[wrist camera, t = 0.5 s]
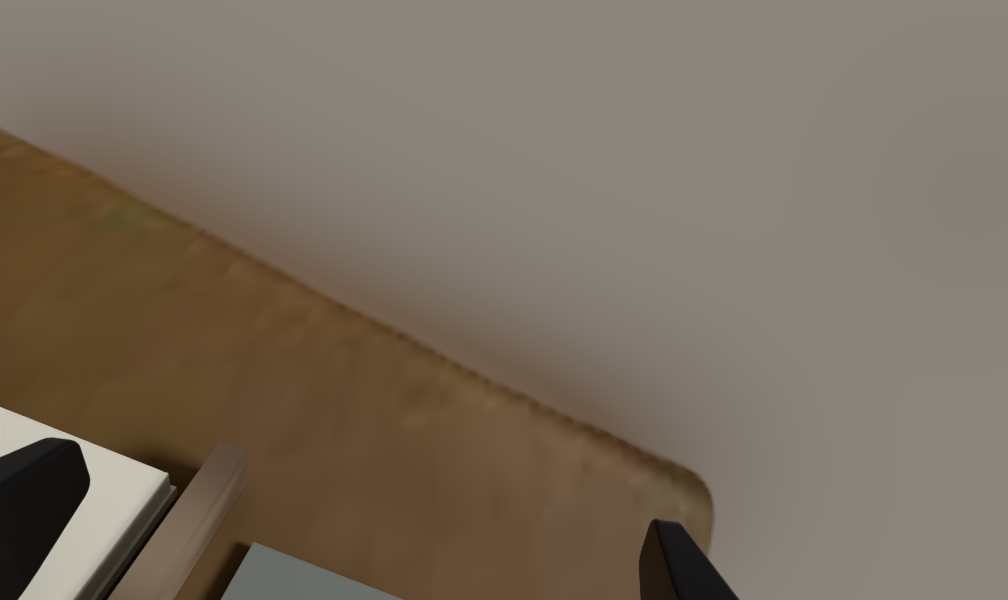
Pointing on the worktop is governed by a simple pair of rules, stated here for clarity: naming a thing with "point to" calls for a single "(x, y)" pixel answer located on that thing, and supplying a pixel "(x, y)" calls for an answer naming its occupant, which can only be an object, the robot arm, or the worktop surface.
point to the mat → (292, 580)
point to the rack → (186, 528)
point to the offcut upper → (90, 513)
